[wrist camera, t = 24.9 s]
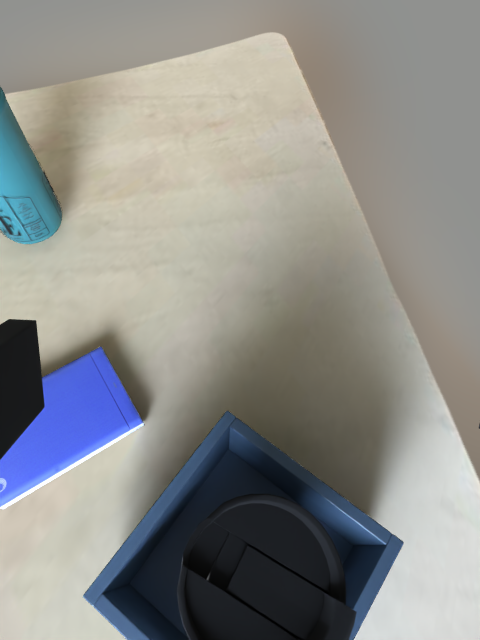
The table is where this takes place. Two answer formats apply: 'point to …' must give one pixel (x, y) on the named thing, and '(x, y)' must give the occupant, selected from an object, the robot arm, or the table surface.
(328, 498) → the blue open box
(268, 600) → the travel mug
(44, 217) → the beverage bottle
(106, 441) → the hard drive
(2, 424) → the robot arm
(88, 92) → the table surface
